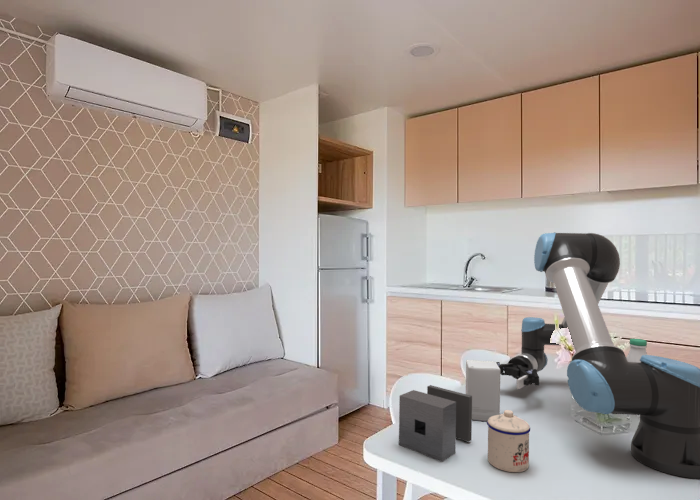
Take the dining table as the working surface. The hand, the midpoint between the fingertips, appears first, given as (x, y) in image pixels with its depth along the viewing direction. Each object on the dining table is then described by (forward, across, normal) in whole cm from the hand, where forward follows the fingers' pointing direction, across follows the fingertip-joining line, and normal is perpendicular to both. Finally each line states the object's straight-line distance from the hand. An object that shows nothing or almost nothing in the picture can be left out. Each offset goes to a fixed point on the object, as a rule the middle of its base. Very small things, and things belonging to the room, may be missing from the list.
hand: (495, 379), depth 130 cm
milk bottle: (-38, -31, -9) cm, 50 cm away
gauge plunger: (+33, +1, -8) cm, 34 cm away
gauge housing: (+34, +1, -9) cm, 35 cm away
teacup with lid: (+30, -17, -9) cm, 36 cm away
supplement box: (+9, 0, -9) cm, 13 cm away
